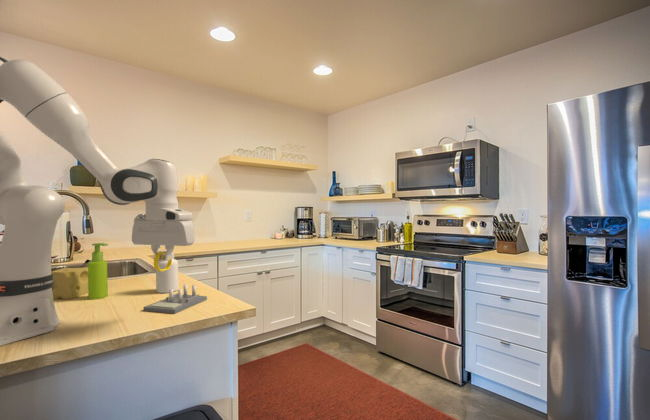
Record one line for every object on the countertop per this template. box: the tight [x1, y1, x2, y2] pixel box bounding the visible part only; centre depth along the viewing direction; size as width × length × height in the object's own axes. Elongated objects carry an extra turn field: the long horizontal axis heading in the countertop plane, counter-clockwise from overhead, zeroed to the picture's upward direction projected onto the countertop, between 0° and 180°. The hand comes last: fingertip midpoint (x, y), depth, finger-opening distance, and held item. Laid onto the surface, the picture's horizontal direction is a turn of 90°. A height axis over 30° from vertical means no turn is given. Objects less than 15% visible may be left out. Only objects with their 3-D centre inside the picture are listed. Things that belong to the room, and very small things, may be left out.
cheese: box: [51, 267, 88, 300], centre depth 126 cm, size 10×11×10 cm
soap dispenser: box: [87, 242, 109, 300], centre depth 123 cm, size 6×7×20 cm
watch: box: [153, 249, 172, 271], centre depth 101 cm, size 6×3×6 cm, turn 164°
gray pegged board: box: [143, 284, 208, 315], centre depth 113 cm, size 16×12×5 cm
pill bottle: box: [155, 251, 179, 294], centre depth 132 cm, size 8×8×15 cm
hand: (162, 260), depth 100 cm, fingers closed on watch
